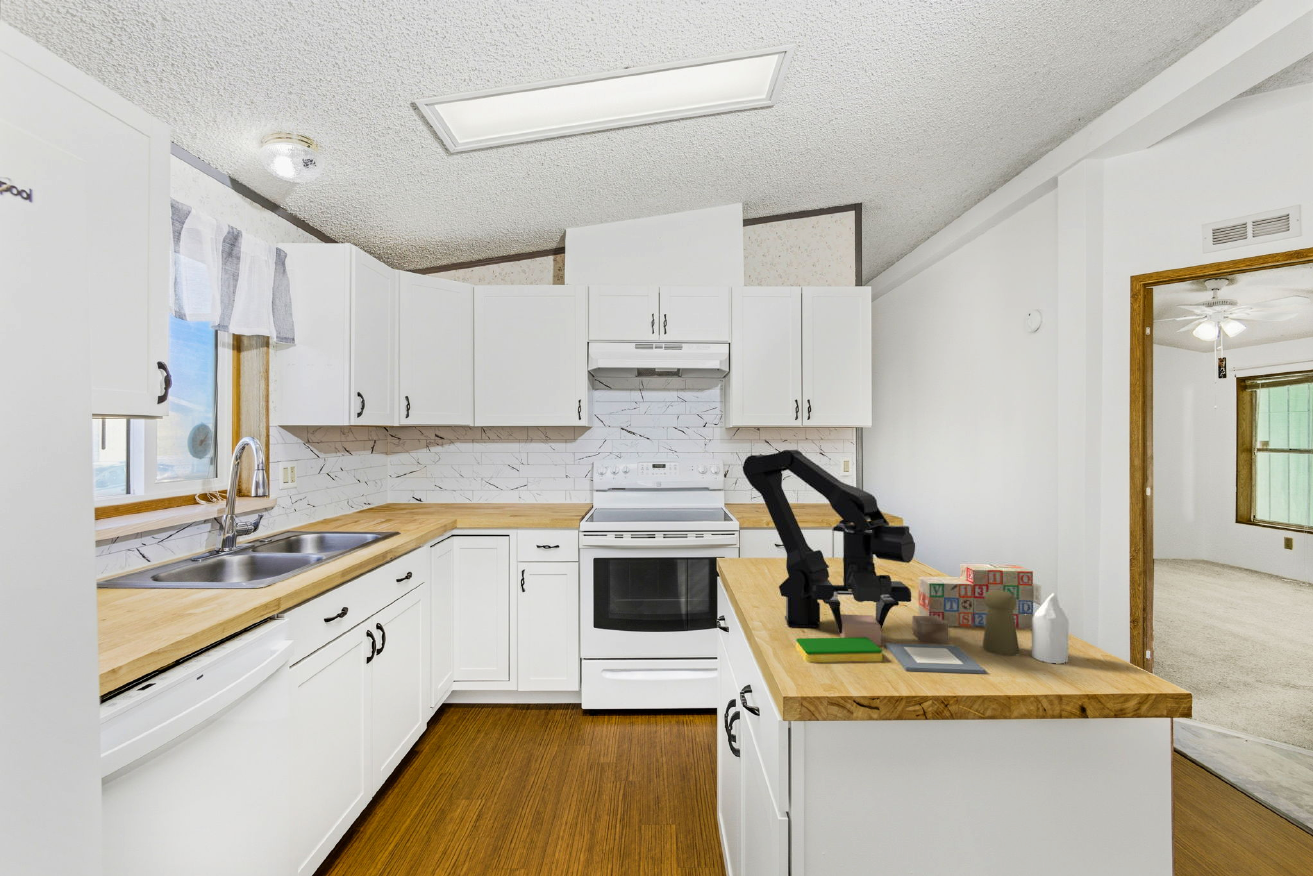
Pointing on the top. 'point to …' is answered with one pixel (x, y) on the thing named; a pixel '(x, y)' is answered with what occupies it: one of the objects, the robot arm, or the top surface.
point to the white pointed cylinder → (1050, 632)
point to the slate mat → (934, 658)
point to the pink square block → (861, 627)
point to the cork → (1000, 624)
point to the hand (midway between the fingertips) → (858, 633)
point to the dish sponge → (838, 649)
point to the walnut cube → (930, 629)
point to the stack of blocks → (976, 594)
